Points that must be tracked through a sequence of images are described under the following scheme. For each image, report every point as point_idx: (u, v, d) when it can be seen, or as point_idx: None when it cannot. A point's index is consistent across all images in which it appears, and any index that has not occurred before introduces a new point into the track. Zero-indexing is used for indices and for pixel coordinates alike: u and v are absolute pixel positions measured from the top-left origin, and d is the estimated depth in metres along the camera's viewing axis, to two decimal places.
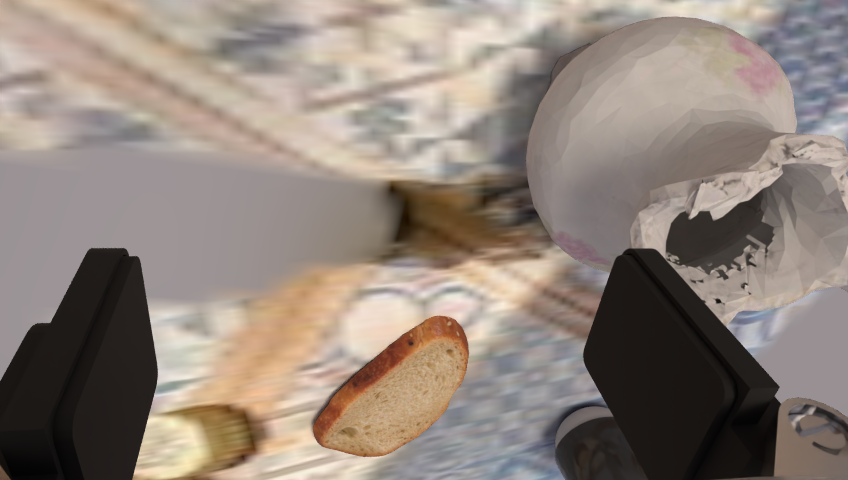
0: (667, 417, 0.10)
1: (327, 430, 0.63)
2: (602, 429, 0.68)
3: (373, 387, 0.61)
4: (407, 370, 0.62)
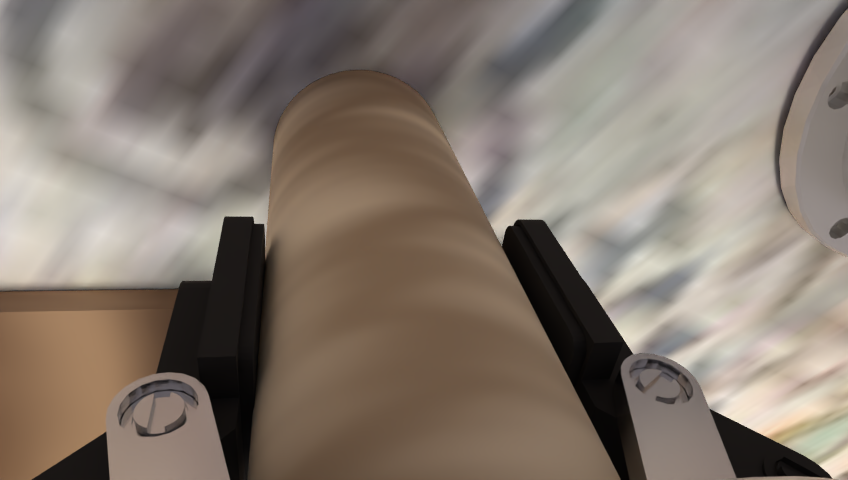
0: None
1: None
2: None
3: None
4: None
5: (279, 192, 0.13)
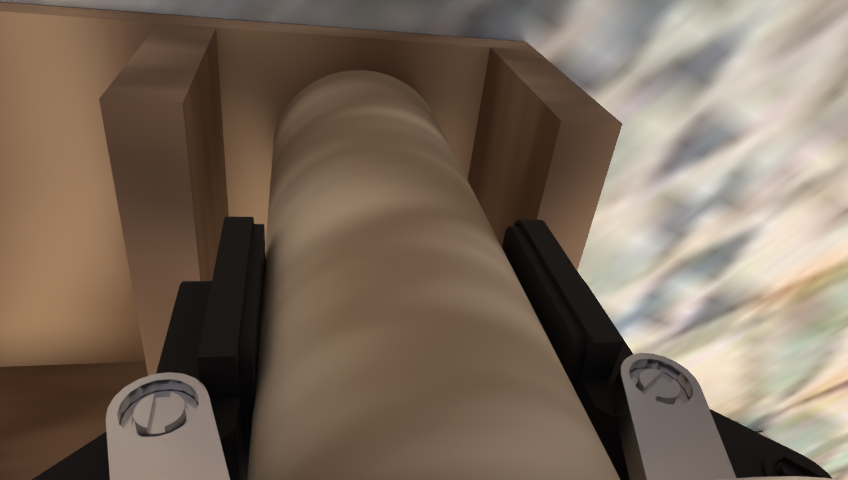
0: None
1: None
2: None
3: None
4: None
5: (279, 192, 0.13)
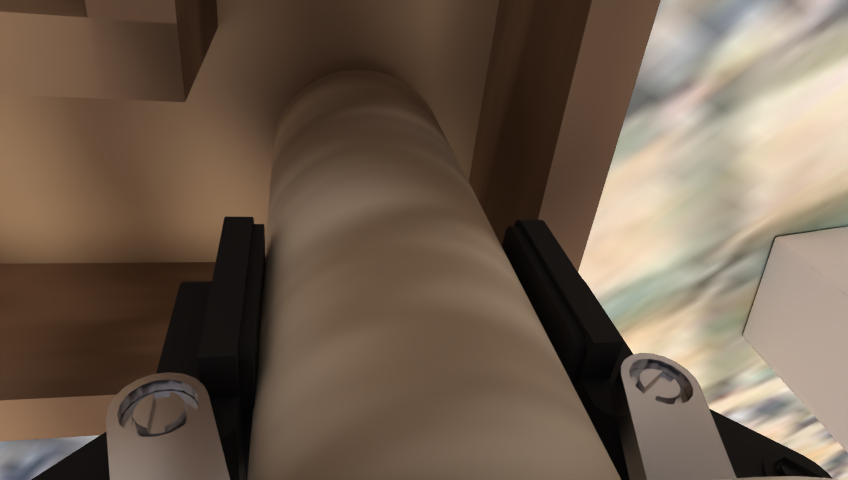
0: None
1: None
2: None
3: None
4: None
5: (279, 192, 0.13)
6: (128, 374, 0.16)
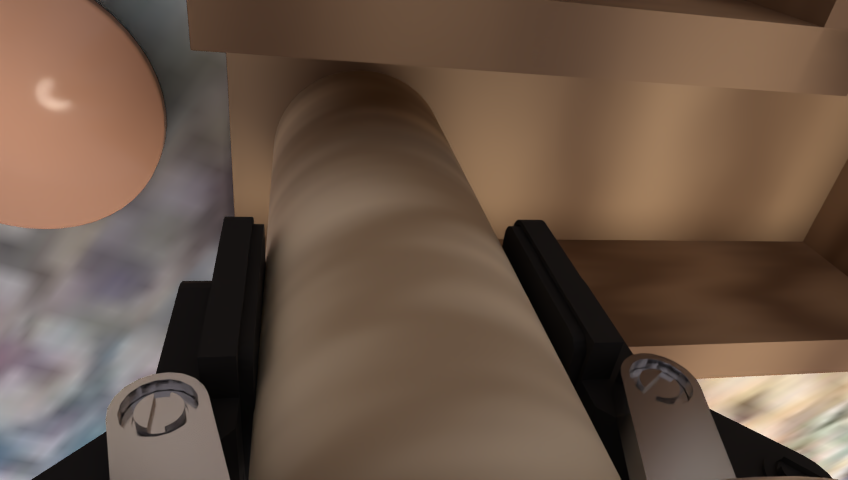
0: None
1: None
2: None
3: None
4: None
5: (279, 193, 0.13)
6: (643, 330, 0.19)
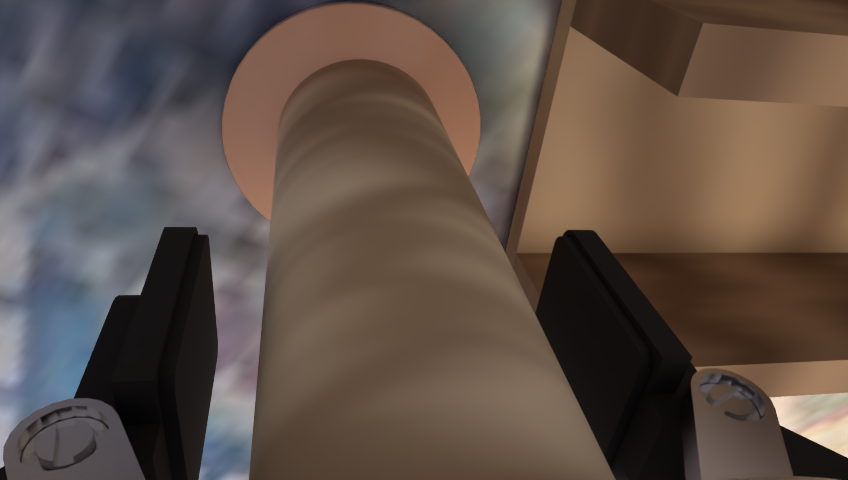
0: (596, 390, 0.11)
1: None
2: None
3: None
4: None
5: (283, 173, 0.14)
6: None
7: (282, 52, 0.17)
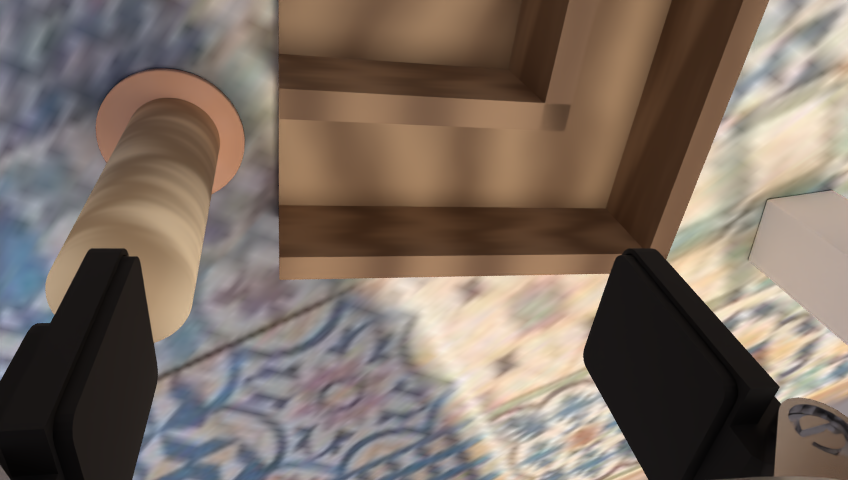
0: (667, 417, 0.10)
1: None
2: None
3: None
4: None
5: None
6: (493, 248, 0.37)
7: (124, 94, 0.33)
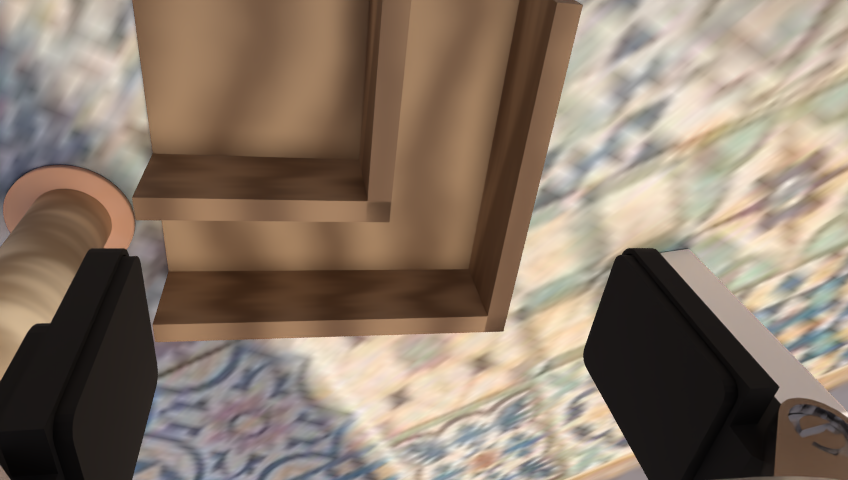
0: (666, 417, 0.10)
1: None
2: None
3: None
4: None
5: None
6: (346, 313, 0.43)
7: (25, 187, 0.39)
